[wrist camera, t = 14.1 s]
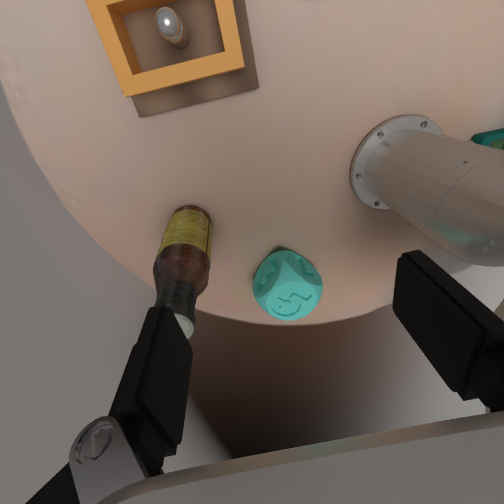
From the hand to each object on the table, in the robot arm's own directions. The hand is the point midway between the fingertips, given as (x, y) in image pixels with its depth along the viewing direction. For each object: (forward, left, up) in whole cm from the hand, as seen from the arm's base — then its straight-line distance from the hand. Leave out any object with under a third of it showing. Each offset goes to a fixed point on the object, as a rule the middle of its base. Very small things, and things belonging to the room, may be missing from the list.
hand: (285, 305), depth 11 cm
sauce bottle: (+10, +8, -28) cm, 31 cm away
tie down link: (+4, -13, -27) cm, 30 cm away
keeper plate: (+4, -13, -28) cm, 31 cm away
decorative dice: (-2, +20, -29) cm, 35 cm away
